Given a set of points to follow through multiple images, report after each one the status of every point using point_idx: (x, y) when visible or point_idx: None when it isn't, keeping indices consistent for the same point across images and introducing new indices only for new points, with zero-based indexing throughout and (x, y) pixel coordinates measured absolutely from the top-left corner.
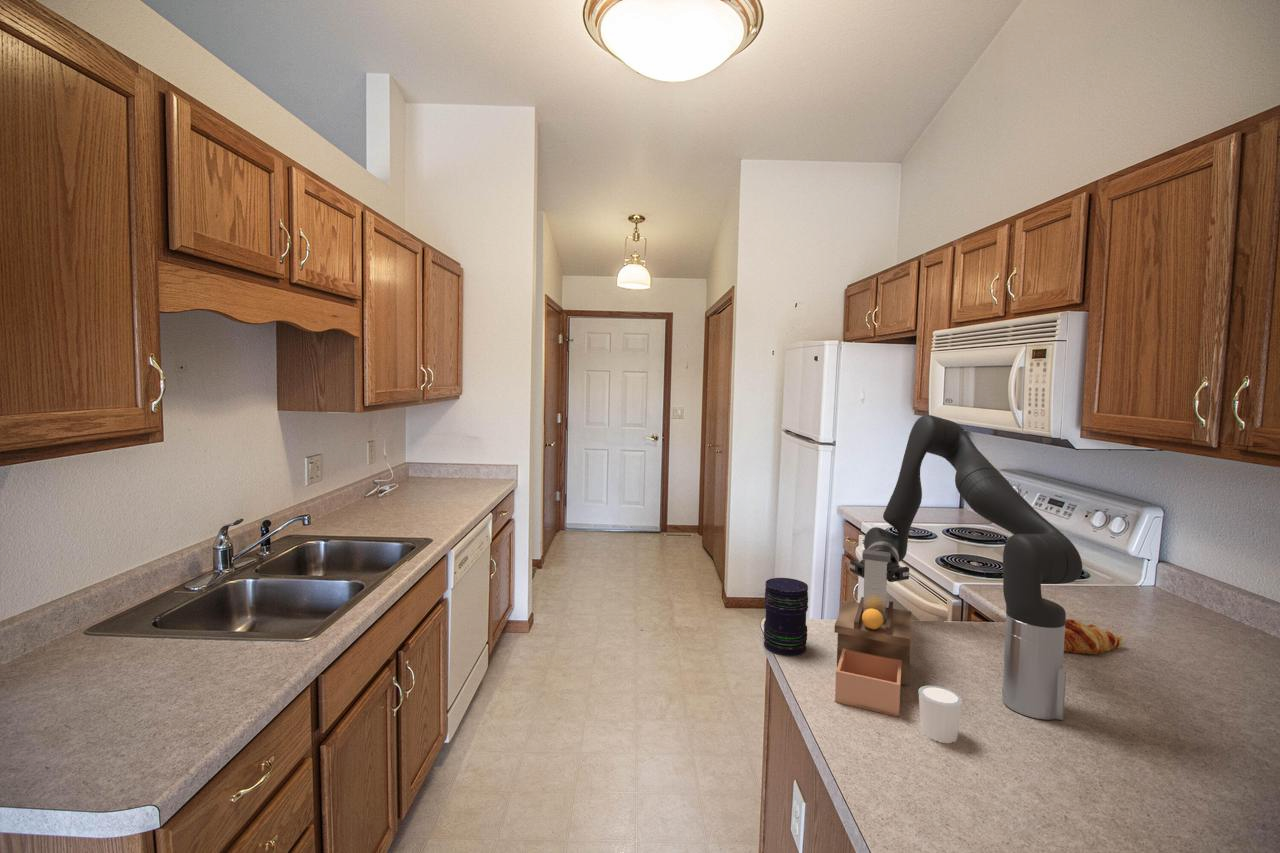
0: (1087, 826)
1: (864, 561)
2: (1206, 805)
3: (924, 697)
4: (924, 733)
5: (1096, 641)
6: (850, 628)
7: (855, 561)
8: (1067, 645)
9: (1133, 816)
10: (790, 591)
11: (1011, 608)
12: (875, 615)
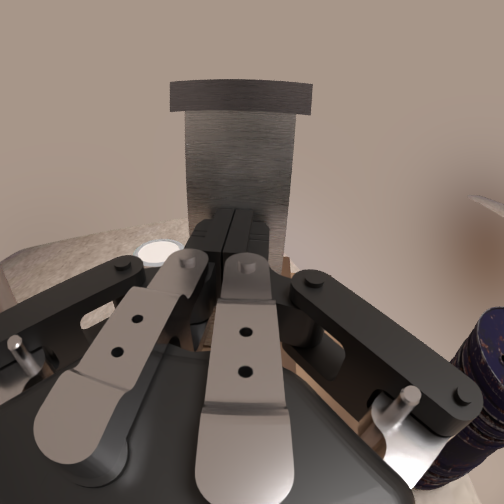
0: (107, 236)
1: (366, 465)
2: (16, 265)
3: (181, 244)
4: None
5: None
6: (294, 273)
7: (436, 384)
8: None
9: (70, 248)
10: (485, 311)
11: None
12: None
